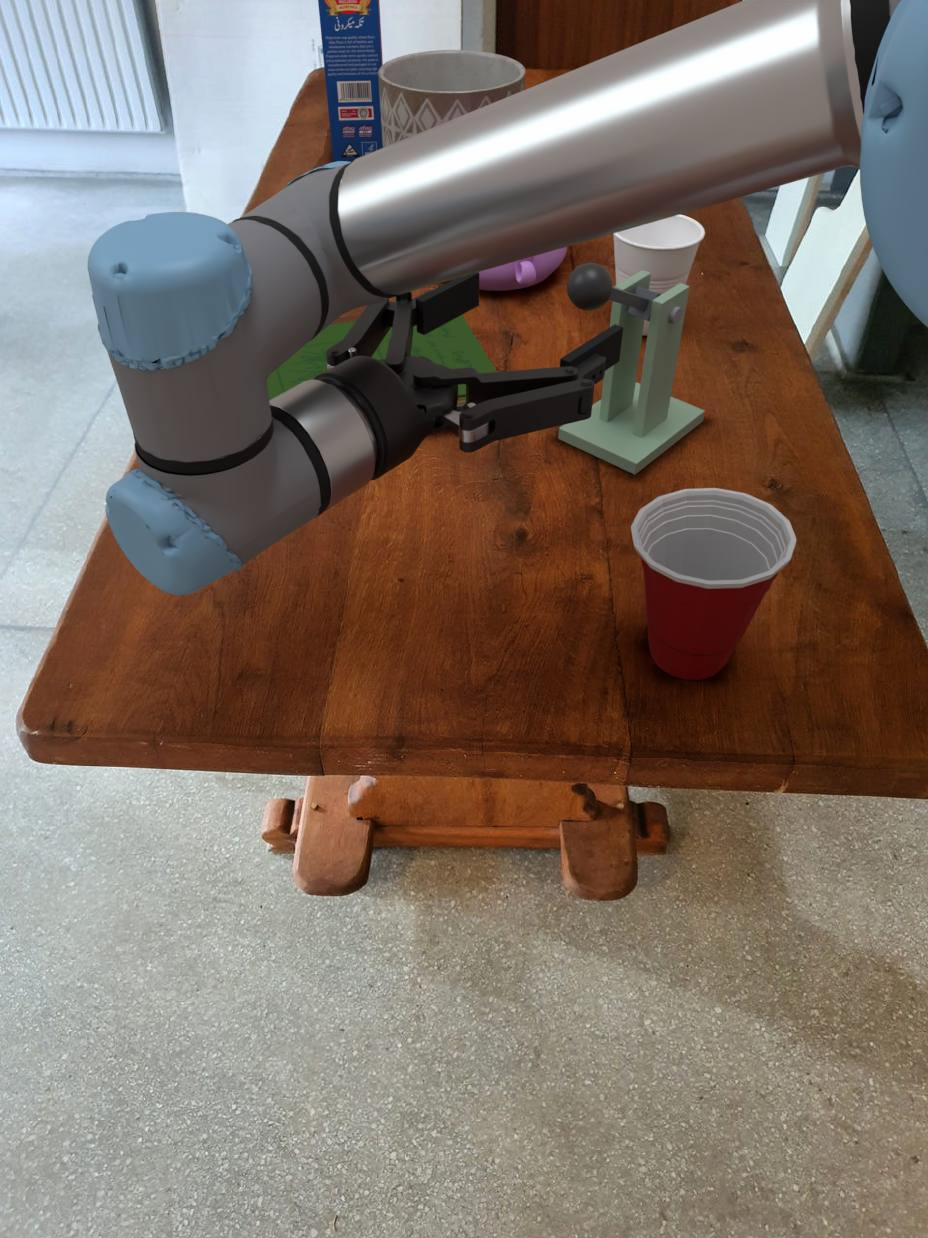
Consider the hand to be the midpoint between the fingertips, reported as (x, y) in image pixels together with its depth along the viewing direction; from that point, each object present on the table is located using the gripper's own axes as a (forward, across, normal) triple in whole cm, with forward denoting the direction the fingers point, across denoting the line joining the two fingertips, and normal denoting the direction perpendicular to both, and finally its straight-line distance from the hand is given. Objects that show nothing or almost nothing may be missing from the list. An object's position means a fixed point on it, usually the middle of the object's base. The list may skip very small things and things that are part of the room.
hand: (543, 313), depth 72 cm
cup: (+35, -11, -18) cm, 41 cm away
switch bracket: (+16, 0, -18) cm, 24 cm away
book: (+3, -25, -18) cm, 31 cm away
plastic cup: (-7, +20, -18) cm, 28 cm away
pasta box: (+56, -79, -18) cm, 99 cm away
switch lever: (+10, 0, -4) cm, 10 cm away
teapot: (+36, -32, -18) cm, 52 cm away
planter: (+48, -53, -18) cm, 74 cm away
